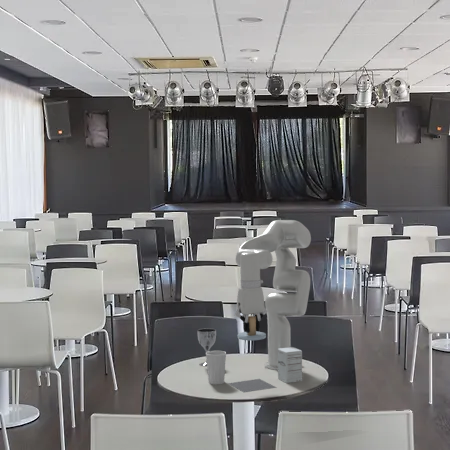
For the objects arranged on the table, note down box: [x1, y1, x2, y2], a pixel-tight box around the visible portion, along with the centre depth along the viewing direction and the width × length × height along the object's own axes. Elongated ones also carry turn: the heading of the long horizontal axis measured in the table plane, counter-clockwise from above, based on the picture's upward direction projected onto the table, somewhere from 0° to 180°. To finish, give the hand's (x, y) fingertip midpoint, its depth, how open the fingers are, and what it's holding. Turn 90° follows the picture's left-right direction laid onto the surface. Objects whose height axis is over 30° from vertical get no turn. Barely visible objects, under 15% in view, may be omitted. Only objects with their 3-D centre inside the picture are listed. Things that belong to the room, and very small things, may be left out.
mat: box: [227, 378, 277, 393], centre depth 301 cm, size 14×14×1 cm
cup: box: [205, 350, 227, 385], centre depth 306 cm, size 8×8×12 cm
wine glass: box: [197, 327, 217, 367], centre depth 336 cm, size 8×8×15 cm
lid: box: [237, 315, 267, 341], centre depth 300 cm, size 11×11×8 cm
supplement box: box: [277, 346, 303, 384], centre depth 308 cm, size 7×7×13 cm
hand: (251, 331), depth 300 cm, fingers closed on lid, 3 cm apart
